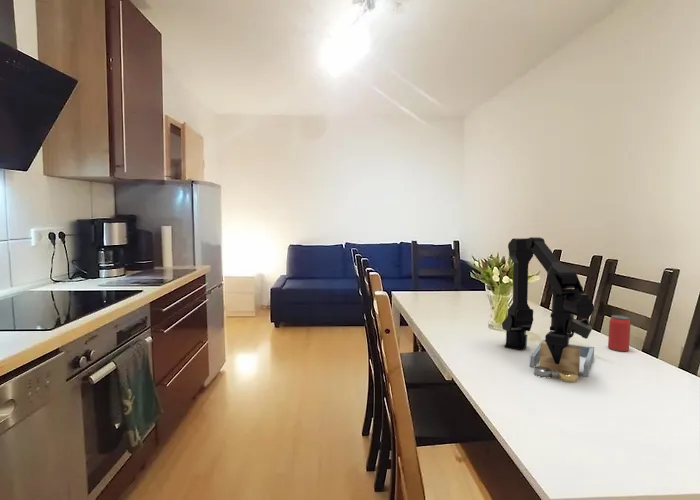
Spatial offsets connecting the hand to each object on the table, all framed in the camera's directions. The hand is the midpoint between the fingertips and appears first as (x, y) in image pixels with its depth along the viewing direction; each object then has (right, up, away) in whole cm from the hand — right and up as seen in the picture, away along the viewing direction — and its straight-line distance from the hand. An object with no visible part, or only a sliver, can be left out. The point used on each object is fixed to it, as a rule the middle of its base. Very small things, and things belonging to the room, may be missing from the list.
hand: (559, 359), depth 143 cm
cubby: (+5, -3, +8) cm, 10 cm away
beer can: (+32, -2, +23) cm, 39 cm away
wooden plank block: (0, -3, 0) cm, 3 cm away
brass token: (-1, -4, -8) cm, 9 cm away
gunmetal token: (-7, -4, -4) cm, 9 cm away
